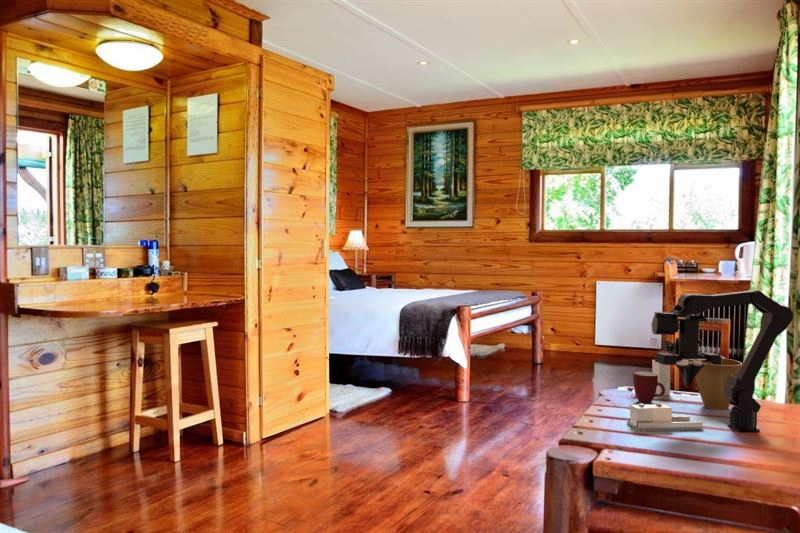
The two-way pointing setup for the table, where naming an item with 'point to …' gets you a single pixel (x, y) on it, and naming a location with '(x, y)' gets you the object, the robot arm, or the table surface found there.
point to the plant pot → (716, 382)
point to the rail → (644, 421)
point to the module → (661, 413)
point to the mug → (646, 386)
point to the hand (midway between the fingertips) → (687, 387)
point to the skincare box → (662, 376)
